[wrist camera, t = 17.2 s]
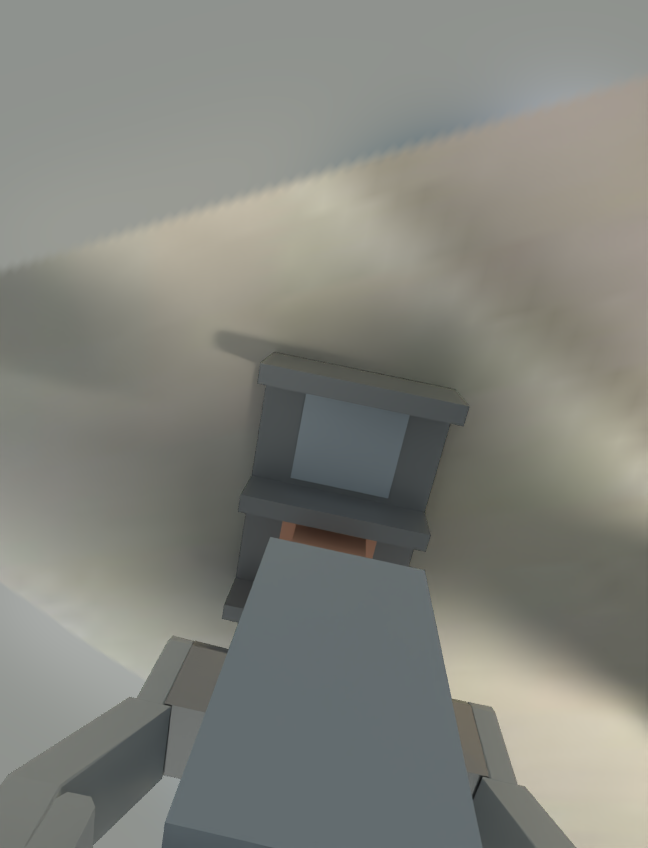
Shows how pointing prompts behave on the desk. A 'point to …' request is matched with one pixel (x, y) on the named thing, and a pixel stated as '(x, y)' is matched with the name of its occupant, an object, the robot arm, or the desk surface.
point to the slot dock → (342, 461)
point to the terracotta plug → (329, 540)
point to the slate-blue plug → (328, 717)
